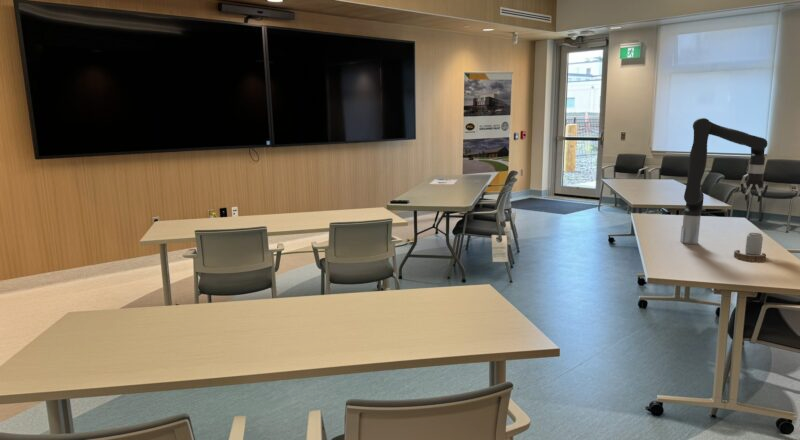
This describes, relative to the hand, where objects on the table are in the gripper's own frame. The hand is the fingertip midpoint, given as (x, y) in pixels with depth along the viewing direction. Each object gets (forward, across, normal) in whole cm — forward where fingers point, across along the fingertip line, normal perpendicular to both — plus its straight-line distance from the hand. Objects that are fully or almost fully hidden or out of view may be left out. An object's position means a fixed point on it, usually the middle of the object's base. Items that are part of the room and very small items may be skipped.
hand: (752, 201), depth 317 cm
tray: (+27, +5, -29) cm, 40 cm away
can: (+28, +5, -18) cm, 33 cm away
